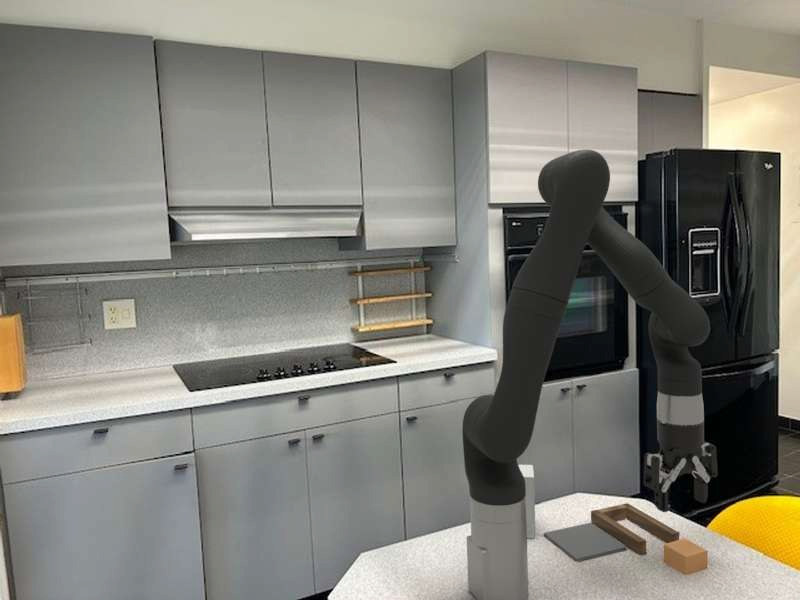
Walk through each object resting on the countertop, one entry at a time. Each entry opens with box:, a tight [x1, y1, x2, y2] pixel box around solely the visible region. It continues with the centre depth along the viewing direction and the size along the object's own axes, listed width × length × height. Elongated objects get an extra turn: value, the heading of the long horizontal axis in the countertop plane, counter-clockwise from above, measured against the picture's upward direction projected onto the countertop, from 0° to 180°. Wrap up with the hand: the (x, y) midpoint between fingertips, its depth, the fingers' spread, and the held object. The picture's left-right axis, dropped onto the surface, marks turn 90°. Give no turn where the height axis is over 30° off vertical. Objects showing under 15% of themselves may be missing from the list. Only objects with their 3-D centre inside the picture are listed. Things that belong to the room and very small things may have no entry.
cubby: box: [590, 502, 680, 556], centre depth 121 cm, size 9×14×2 cm, turn 19°
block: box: [663, 538, 709, 576], centre depth 109 cm, size 5×5×4 cm
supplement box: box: [518, 464, 536, 539], centre depth 124 cm, size 7×7×13 cm
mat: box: [543, 522, 628, 562], centre depth 118 cm, size 11×11×1 cm
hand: (681, 505), depth 109 cm, fingers open, 8 cm apart
